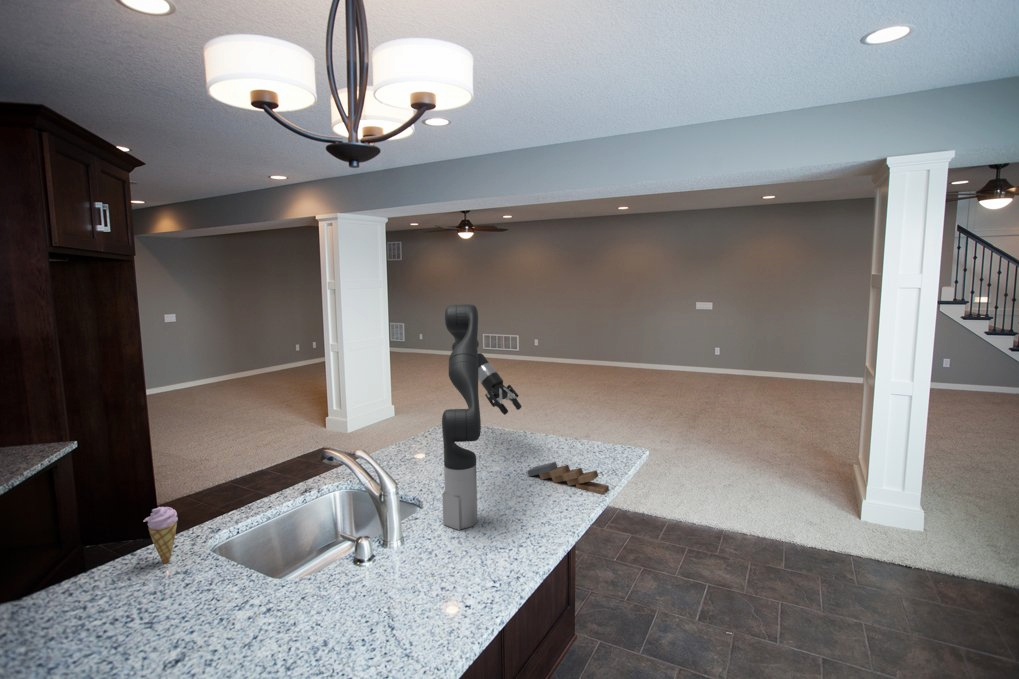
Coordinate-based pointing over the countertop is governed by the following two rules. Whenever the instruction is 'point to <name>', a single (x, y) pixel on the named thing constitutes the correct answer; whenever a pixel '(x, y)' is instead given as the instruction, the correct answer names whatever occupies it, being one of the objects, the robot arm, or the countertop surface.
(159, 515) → the ice cream cone
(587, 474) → the domino
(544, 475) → the domino
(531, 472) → the domino
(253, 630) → the countertop surface
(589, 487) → the domino
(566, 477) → the domino
